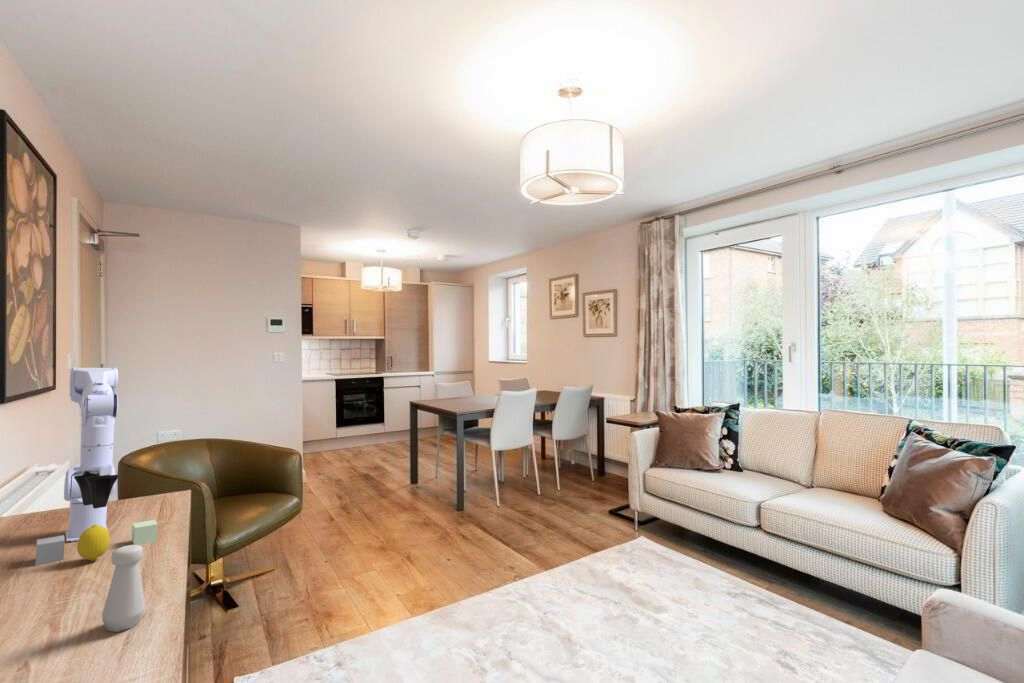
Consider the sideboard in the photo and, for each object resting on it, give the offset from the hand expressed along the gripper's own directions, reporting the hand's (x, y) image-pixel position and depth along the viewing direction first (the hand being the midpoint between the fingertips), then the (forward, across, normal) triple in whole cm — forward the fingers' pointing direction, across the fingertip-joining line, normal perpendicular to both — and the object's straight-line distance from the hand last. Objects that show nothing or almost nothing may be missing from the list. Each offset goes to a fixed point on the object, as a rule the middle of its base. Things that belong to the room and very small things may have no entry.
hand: (94, 506), depth 112 cm
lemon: (+12, +3, 0) cm, 12 cm away
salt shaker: (+15, +40, -5) cm, 43 cm away
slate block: (+11, -5, -6) cm, 14 cm away
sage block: (+11, -2, +11) cm, 15 cm away
